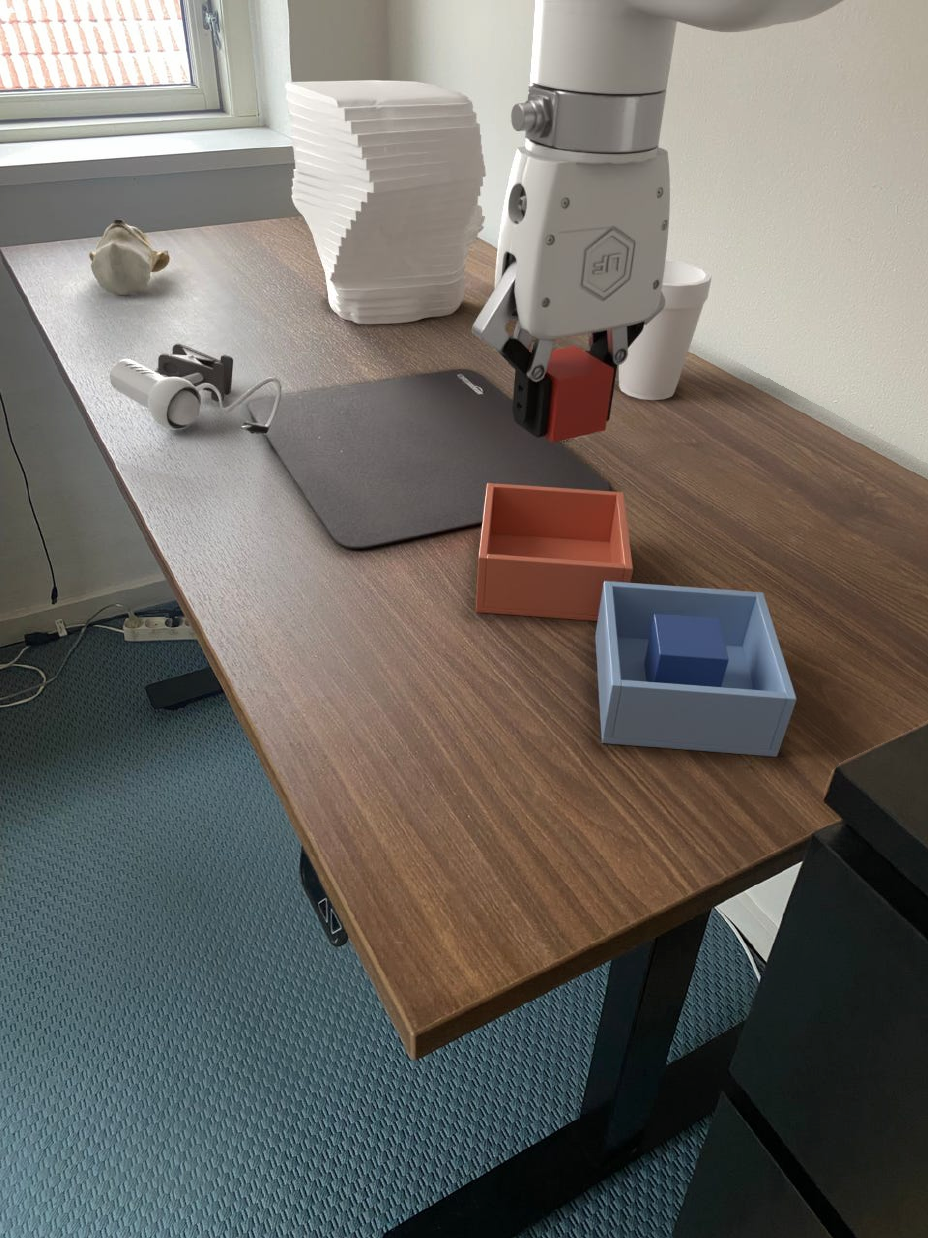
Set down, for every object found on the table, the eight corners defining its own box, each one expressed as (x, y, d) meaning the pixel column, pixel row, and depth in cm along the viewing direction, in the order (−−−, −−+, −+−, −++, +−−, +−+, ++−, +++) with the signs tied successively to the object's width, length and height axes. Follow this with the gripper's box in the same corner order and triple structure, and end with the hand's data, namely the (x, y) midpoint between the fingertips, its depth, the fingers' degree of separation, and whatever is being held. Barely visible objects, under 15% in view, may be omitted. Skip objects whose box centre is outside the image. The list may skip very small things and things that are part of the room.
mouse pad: (619, 493, 85) (619, 491, 85) (342, 554, 75) (342, 552, 75) (471, 367, 108) (471, 366, 107) (243, 402, 98) (242, 400, 98)
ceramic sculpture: (66, 230, 115) (86, 207, 127) (79, 301, 120) (98, 272, 132) (154, 230, 117) (166, 207, 129) (164, 300, 122) (175, 272, 134)
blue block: (706, 667, 65) (719, 618, 63) (715, 710, 62) (729, 659, 59) (643, 662, 65) (653, 613, 63) (649, 705, 62) (660, 654, 59)
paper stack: (291, 291, 127) (274, 76, 111) (476, 278, 134) (485, 75, 119) (323, 347, 111) (309, 105, 96) (530, 329, 119) (549, 102, 103)
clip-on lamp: (307, 440, 97) (181, 372, 102) (315, 384, 93) (184, 317, 98) (227, 475, 88) (94, 399, 93) (232, 415, 84) (93, 339, 90)
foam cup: (652, 413, 100) (672, 291, 92) (588, 385, 105) (602, 268, 97) (705, 391, 105) (729, 274, 97) (641, 365, 110) (659, 253, 102)
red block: (568, 405, 66) (575, 345, 63) (605, 430, 63) (614, 368, 60) (516, 417, 64) (521, 355, 61) (552, 443, 61) (558, 379, 58)
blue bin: (747, 647, 68) (763, 592, 65) (777, 757, 59) (797, 699, 56) (595, 635, 68) (603, 580, 65) (601, 743, 60) (612, 685, 56)
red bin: (615, 543, 79) (623, 491, 76) (623, 623, 70) (633, 568, 67) (484, 534, 79) (487, 482, 76) (475, 612, 70) (478, 557, 67)
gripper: (502, 144, 46) (483, 471, 57) (751, 125, 53) (691, 420, 64) (430, 118, 51) (426, 423, 62) (666, 104, 58) (624, 380, 69)
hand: (561, 419), depth 63 cm, fingers closed on red block, 4 cm apart
